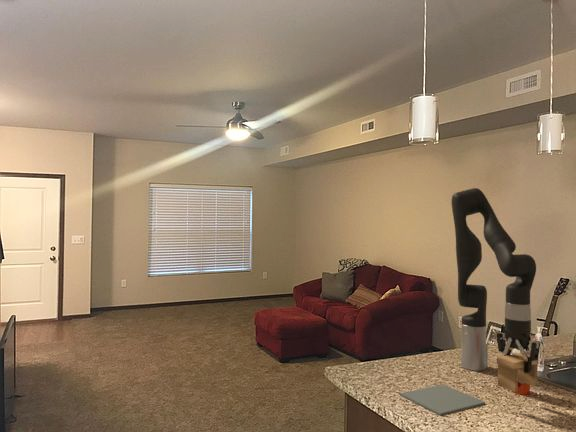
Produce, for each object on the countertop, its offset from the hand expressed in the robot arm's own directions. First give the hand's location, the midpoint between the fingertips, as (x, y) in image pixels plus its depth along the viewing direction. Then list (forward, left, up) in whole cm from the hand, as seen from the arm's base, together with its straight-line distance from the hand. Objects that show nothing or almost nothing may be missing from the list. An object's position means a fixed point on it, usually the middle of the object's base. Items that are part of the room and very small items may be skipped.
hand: (517, 369), depth 147 cm
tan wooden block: (0, 0, -5) cm, 5 cm away
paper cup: (-13, -8, -12) cm, 19 cm away
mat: (+17, -15, -12) cm, 26 cm away
